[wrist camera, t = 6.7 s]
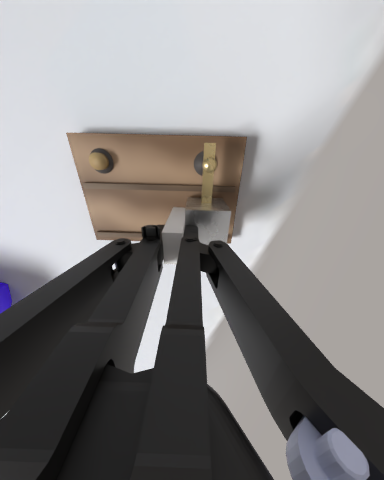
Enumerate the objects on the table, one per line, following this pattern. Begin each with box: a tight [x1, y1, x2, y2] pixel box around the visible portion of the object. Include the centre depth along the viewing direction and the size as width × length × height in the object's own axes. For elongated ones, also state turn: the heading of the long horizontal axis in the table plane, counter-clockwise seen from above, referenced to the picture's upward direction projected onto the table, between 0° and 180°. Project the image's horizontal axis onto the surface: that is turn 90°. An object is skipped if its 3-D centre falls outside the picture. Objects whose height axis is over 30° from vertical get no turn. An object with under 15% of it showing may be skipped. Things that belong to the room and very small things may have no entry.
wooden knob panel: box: [66, 133, 247, 243], centre depth 19 cm, size 12×18×3 cm, turn 89°
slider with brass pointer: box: [185, 143, 231, 245], centre depth 16 cm, size 9×4×5 cm, turn 179°
